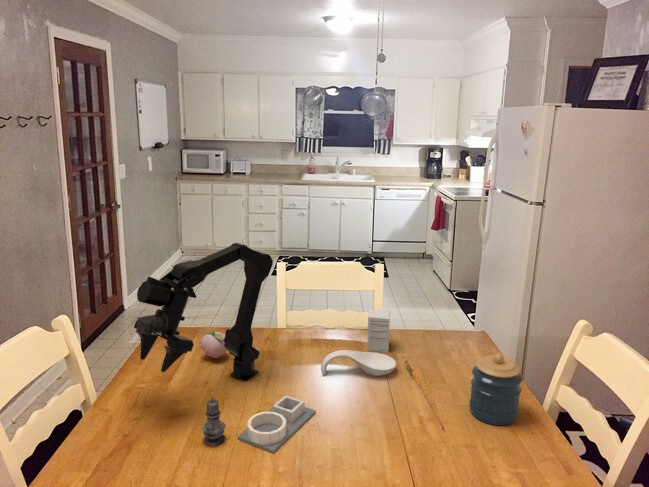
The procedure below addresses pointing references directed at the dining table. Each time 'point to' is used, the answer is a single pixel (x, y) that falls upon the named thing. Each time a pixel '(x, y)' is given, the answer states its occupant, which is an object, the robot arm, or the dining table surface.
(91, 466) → the dining table surface
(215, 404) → the dark grey tiered column
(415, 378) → the katana
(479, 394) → the canister
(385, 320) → the supplement box
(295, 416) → the socket board
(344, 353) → the spoon rest
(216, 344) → the decorative fruit
